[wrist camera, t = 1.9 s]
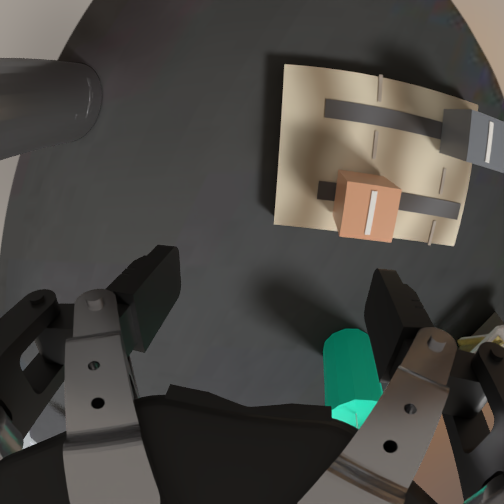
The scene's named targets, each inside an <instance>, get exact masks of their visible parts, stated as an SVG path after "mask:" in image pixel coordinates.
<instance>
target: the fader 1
mask: <svg viewBox="0 0 504 504" xmlns="http://www.w3.org/2000/svg"><path fill="white" fill-rule="evenodd" d="M401 192H402V189H400V188H399V187H398V186H396V185H395V184H394V183H392V182H391V181H390V180H388V179H387V178H385V177H384V176H379V175H373V174H367V173H360V172H353V171H346V170H338V176H337V185H336V193H335V200H334V208H333V218H334V221H335V224H336V227H337V230H338V233H339V236H340V237H349V238H358V239H366V240H374V241H383V242H392V237H393V233H394V228H395V223H396V218H397V213H398V208H399V203H400V197H401Z"/></svg>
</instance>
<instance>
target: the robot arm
mask: <svg viewBox="0 0 504 504" xmlns="http://www.w3.org/2000/svg"><path fill="white" fill-rule="evenodd" d="M101 101H102V89H101V84H100V80H99V78H98V76H97V74H96V73H95V71H94V70H93V69H92V68H91V67H89V66H88V65H85V64H81V63H74V62H64V61H56V60H42V59H24V58H23V59H22V58H0V160H3V159H6V158H9V157H12V156H16V155H19V154H23V153H27V152H30V151H34V150H38V149H42V148H46V147H51V146H55V145H59V144H63V143H68V142H73V141H76V140H78V139H80V138H82V137H83V136H84V135H86V134H87V133H88V132H89V130H90V129H91V128H92V126H93V125H94V123H95V121H96V119H97V117H98V115H99V111H100V107H101ZM180 290H181V276H180V260H179V250H178V248H177V247H174V246H165V245H157V246H156V247H155V248H154V249H153V250H152V251H151V252H150V253H149V254H148V255H147V256H143V257H141V258H139V259H137V260H135V261H133V262H132V263H131V264H130V265H129V266H128V267H127V269H125V270H124V271H123V272H122V274H120V275H119V276H118V277H117V278H116V279H115V280H114V281H113V282H112V283H111V284H110V285H109V286H108V287H107V288H106V289H94V290H90V291H87V292H85V293H83V294H82V295H80V296H79V297H78V298H77V299H76V301H75V304H58V302H57V298H56V295H55V293H54V292H53V291H51V290H46V289H43V290H37V291H34V292H32V293H30V294H28V295H27V296H25V297H24V298H23V299H22V300H21V301H19V302H18V303H17V304H16V305H15V306H14V307H13V308H11V309H10V310H9V311H8V312H7V313H6V314H5V315H4V316H3V317H1V318H0V504H437V503H436V502H435V501H434V500H433V499H432V498H431V497H430V496H429V495H428V494H427V493H426V492H425V491H424V490H422V488H421V487H419V486H418V485H417V484H416V483H415V482H414V481H413V478H414V476H415V474H416V472H417V470H418V468H419V466H420V464H421V462H422V460H423V458H424V455H425V453H426V451H427V449H428V446H429V444H430V442H431V439H432V437H433V435H434V432H435V430H436V427H437V425H438V422H439V419H440V417H441V414H442V415H443V418H444V422H445V425H446V429H447V432H448V435H449V439H450V443H451V446H452V450H453V454H454V458H455V462H456V466H457V470H458V474H459V479H460V483H461V488H462V492H463V498H464V503H463V504H504V348H503V347H502V346H500V345H499V344H496V343H493V342H484V343H482V344H481V345H480V346H479V348H478V350H477V352H476V353H471V352H467V351H463V350H459V349H457V344H456V341H455V340H454V338H453V337H452V336H451V335H450V334H448V333H447V332H445V331H444V330H442V329H439V328H435V327H434V326H433V324H432V322H431V320H430V318H429V316H428V314H427V312H426V310H425V309H423V308H424V307H423V305H422V303H421V302H420V299H419V297H418V296H417V294H416V292H415V291H414V290H413V289H412V288H410V287H409V286H408V285H407V284H403V283H402V281H401V279H400V277H399V276H398V274H397V272H396V271H395V270H387V269H376V270H375V272H374V274H373V278H372V282H371V286H370V290H369V293H368V297H367V301H366V304H365V311H364V319H365V323H366V327H367V331H368V335H369V339H370V343H371V347H372V352H373V356H374V360H375V365H376V369H377V374H378V378H379V383H389V384H388V386H387V387H386V389H385V390H384V392H383V394H382V395H381V397H380V399H379V400H378V402H377V403H376V405H375V406H374V408H373V409H372V411H371V412H370V414H369V415H368V417H367V418H366V420H365V421H364V423H363V424H362V426H361V427H360V429H357V428H356V427H354V426H352V425H350V424H348V423H346V422H343V421H340V420H338V419H334V418H332V407H331V406H318V405H304V404H282V405H271V406H259V407H246V406H243V405H240V404H238V403H235V402H232V401H230V400H227V399H224V398H222V397H219V396H217V395H214V394H212V393H209V392H206V391H200V390H195V389H190V388H186V387H181V386H176V385H172V384H170V386H169V389H168V391H167V393H166V395H152V396H146V397H141V398H140V396H139V392H138V388H137V384H136V380H135V376H134V371H133V367H132V362H131V358H130V353H131V352H132V350H136V351H140V352H144V353H145V352H146V350H147V348H148V347H149V345H150V343H151V342H152V340H153V338H154V337H155V335H156V333H157V332H158V330H159V328H160V327H161V325H162V323H163V322H164V320H165V319H166V317H167V315H168V314H169V312H170V310H171V309H172V307H173V306H174V304H175V302H176V301H177V299H178V297H179V294H180ZM33 341H35V343H36V346H37V348H38V350H39V353H38V354H37V356H36V357H35V358H34V359H33V360H32V361H31V362H30V364H29V365H28V366H27V367H26V368H25V370H24V371H22V369H21V367H20V357H21V355H22V353H23V352H24V351H25V350H26V349H27V348H28V346H29V345H30V344H31V343H32V342H33ZM64 380H65V414H66V430H67V431H65V432H63V433H60V434H58V435H56V436H54V437H51V438H49V439H47V440H44V441H42V442H39V443H37V444H35V445H32V446H30V447H27V448H25V449H22V448H23V439H24V438H25V436H26V435H27V433H28V432H29V430H30V429H31V427H32V426H33V424H34V423H35V421H36V420H37V418H38V417H39V415H40V414H41V413H42V411H43V410H44V408H45V407H46V405H47V404H48V403H49V401H50V400H51V398H52V397H53V396H54V394H55V393H56V391H57V390H58V389H59V387H60V386H61V384H62V383H63V382H64ZM487 402H488V403H489V405H490V408H491V410H492V412H493V415H494V426H493V429H492V431H491V432H490V430H489V428H488V425H487V422H486V420H485V417H484V415H483V412H482V410H481V409H482V408H483V407H484V405H485V404H486V403H487Z"/></svg>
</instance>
